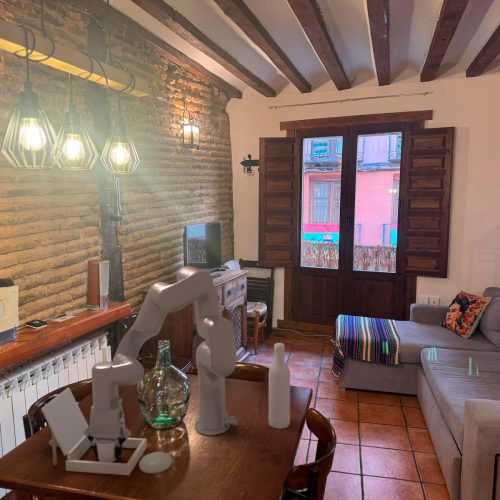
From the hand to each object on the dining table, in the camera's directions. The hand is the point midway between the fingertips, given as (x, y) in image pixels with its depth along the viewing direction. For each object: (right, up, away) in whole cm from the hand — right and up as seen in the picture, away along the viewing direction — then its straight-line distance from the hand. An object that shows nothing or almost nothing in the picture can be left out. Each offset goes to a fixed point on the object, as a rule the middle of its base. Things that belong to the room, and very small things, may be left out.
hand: (108, 455), depth 138 cm
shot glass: (0, -1, 0) cm, 1 cm away
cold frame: (-4, -1, +1) cm, 4 cm away
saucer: (+16, -1, -3) cm, 16 cm away
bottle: (+56, +1, +21) cm, 60 cm away
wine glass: (-20, 0, +11) cm, 23 cm away
